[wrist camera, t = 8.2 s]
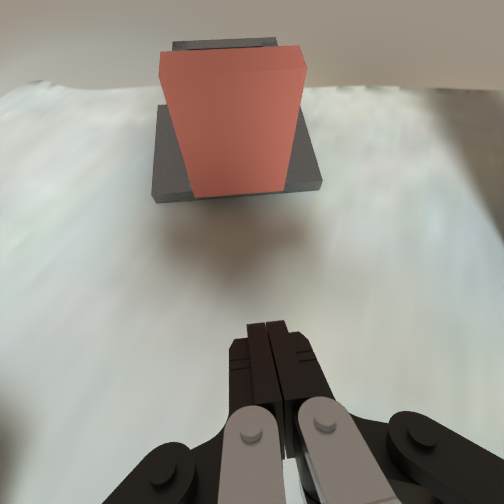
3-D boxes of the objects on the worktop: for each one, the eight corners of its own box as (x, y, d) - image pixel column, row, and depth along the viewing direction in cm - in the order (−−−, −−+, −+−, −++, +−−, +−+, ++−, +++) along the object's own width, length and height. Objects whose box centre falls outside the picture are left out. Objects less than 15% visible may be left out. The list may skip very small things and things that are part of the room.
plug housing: (295, 108, 27) (308, 35, 21) (319, 190, 22) (343, 125, 17) (161, 116, 26) (137, 43, 20) (156, 203, 21) (122, 140, 16)
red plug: (267, 115, 24) (277, -16, 16) (283, 190, 20) (307, 68, 12) (193, 120, 24) (165, -12, 16) (194, 197, 20) (158, 76, 12)
